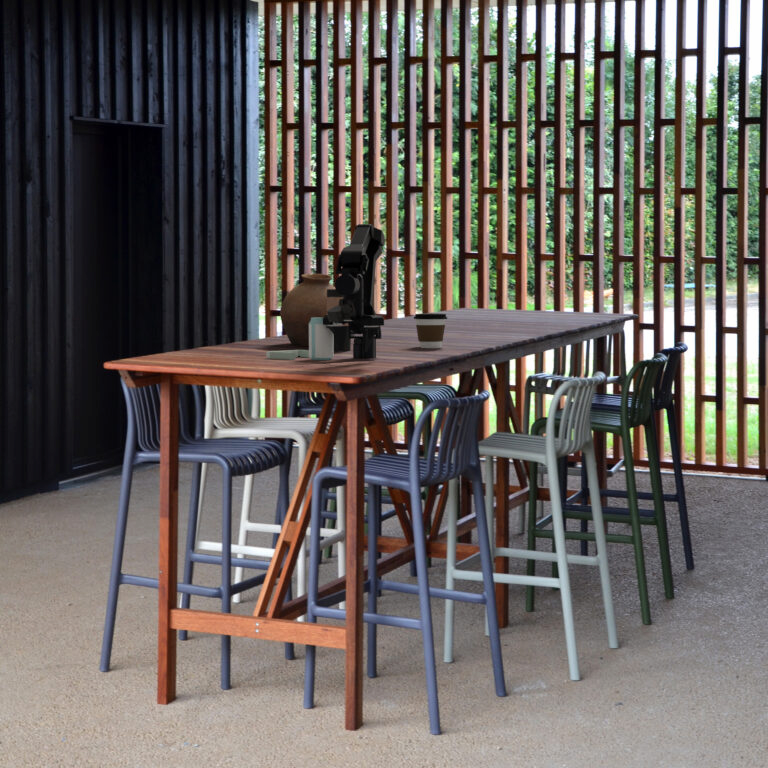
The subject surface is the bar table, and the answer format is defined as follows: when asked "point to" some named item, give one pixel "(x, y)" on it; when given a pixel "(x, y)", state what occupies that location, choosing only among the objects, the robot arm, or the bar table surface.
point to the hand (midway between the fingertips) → (353, 351)
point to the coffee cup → (430, 329)
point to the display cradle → (287, 354)
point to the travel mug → (333, 301)
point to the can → (320, 340)
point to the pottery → (305, 307)
